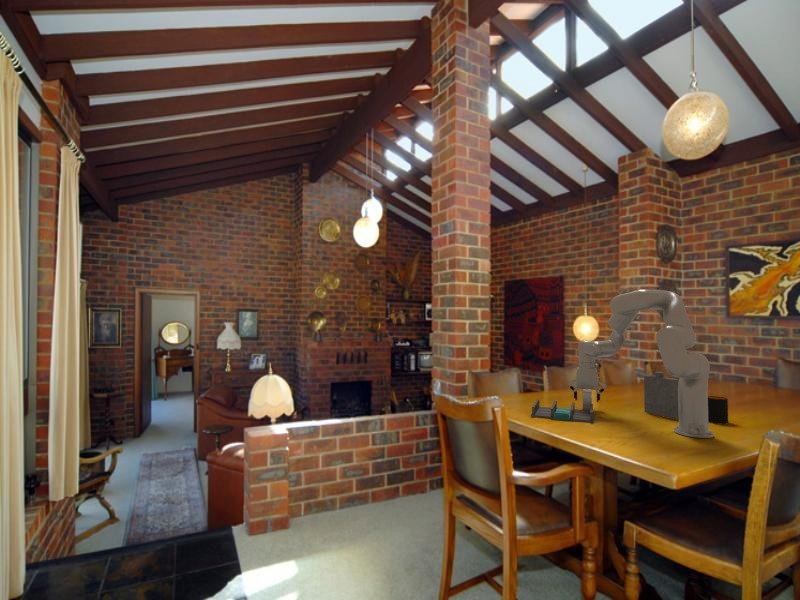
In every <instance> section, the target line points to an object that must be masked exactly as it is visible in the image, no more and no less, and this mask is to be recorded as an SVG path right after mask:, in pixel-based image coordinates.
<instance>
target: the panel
mask: <svg viewBox="0 0 800 600" xmlns="http://www.w3.org/2000/svg"><path fill="white" fill-rule="evenodd" d="M591 404H593V390H591V389H582V410H583V411H590V406H591Z"/></svg>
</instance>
